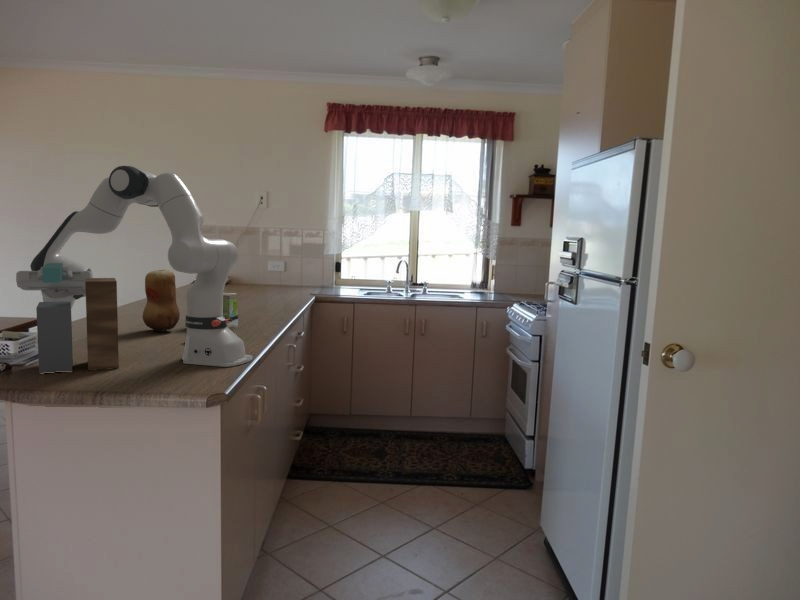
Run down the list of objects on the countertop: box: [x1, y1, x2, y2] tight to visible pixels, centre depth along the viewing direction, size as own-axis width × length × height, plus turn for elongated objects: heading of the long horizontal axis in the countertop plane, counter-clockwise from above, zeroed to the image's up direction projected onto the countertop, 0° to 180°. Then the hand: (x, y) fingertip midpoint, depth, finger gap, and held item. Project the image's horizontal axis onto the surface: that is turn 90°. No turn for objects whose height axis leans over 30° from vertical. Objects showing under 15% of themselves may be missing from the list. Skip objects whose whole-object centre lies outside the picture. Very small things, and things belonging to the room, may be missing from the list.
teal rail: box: [43, 263, 63, 283], centre depth 164 cm, size 20×4×4 cm, turn 29°
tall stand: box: [85, 277, 120, 371], centre depth 170 cm, size 12×8×26 cm, turn 29°
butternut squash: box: [142, 268, 181, 332], centre depth 226 cm, size 14×13×25 cm
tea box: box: [223, 292, 239, 328], centre depth 240 cm, size 15×10×15 cm, turn 84°
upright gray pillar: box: [35, 301, 74, 374], centre depth 164 cm, size 12×8×19 cm, turn 29°
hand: (54, 269), depth 169 cm, fingers closed on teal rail, 4 cm apart
